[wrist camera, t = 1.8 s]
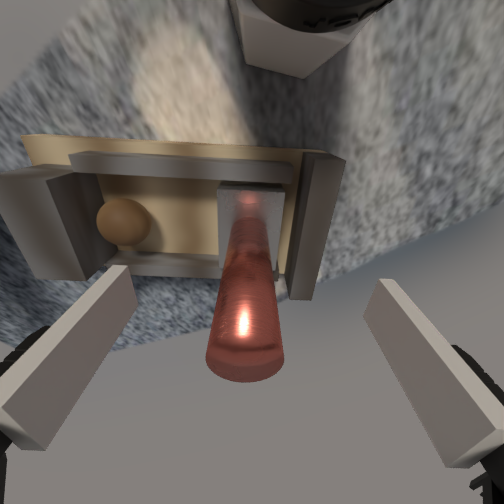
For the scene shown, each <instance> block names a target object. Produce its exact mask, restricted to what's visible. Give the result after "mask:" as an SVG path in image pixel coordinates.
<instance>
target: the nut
mask: <svg viewBox="0 0 504 504" xmlns="http://www.w3.org/2000/svg"><path fill="white" fill-rule="evenodd" d="M96 222H97V227H98V230H99V232H100V233H101V235H102V236H103V237H104V238H105V239H106V240H108V241H109V242H111V243H113V244H115V245H119V246H133V245H136V244H139V243H140V242H142V241H143V240H144V239H146V237H147V236H148V235H149V233H150V230H151V225H152V222H151V217H150V214H149V213H148V211H147V210H146V208H145V207H144V206H143V205H141V204H140V203H138V202H137V201H134V200H132V199H128V198H117V199H113V200H110V201H108V202H107V203H105V204H104V205H103V206H102V207H101V208H100V210H99V212H98V214H97V220H96Z"/></svg>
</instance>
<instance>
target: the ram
mask: <svg viewBox="0 0 504 504" xmlns="http://www.w3.org/2000/svg"><path fill="white" fill-rule="evenodd" d="M284 199H285V191H284V189H283V187H282V184H281V183H267V182H248V181H230V180H221V182H220V184H219V186H218V188H217V215H218V250H219V268H221V269H223V272H222V277H221V282H220V287H219V292H218V297H217V302H216V307H215V312H214V317H213V322H212V327H211V332H210V337H209V342H208V347H207V352H206V363H207V365H208V367H209V368H210V369H211V371H213V372H214V373H215V374H216V375H218V376H220V377H222V378H224V379H227V380H230V381H235V382H256V381H261V380H264V379H267V378H269V377H271V376H273V375H274V374H276V373H277V372H278V371H279V370H280V369H281V367H282V365H283V363H284V353H283V346H282V339H281V331H280V323H279V316H278V308H277V300H276V293H275V285H274V278H273V271H275V269H276V261H277V253H278V246H279V238H280V230H281V222H282V214H283V207H284Z"/></svg>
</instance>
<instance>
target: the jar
mask: <svg viewBox="0 0 504 504" xmlns="http://www.w3.org/2000/svg"><path fill="white" fill-rule="evenodd" d="M391 1H393V0H229V4H230V7H231V11H232V15H233V19H234V22H235V26H236V30H237V33H238V37H239V41H240V45H241V48H242V52H243V56H244V60H245V62H246V63H247V64H248V65H252V66H256V67H260V68H264V69H267V70H271V71H275V72H279V73H283V74H286V75H290V76H294V77H298V78H301V79H305V78H306V77H308V76H309V75H310V74H311V73H313V72H314V71H315V70H316V69H318V68H319V67H320V66H321V65H323V64H324V63H325V62H326V61H328V60H329V59H330V58H331V57H333V56H334V55H335V54H336V53H338V52H339V51H340V50H341V49H343V48H344V47H345V46H346V45H348V44H349V43H350V42H351V41H352V40H353V39H354V38H355V36H356V35H357V34H358V33H359V32H360V30H361V29H362V28H363V27H364V26H365V24H366V23H367V22H368V21H369V20H370V18H371V17H372V16H373V15H374V14H375V12H377V11H379V10H380V9H382V8H383V7H384V6H385V5H387V4H389V3H390V2H391Z"/></svg>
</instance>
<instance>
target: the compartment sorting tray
mask: <svg viewBox="0 0 504 504" xmlns="http://www.w3.org/2000/svg"><path fill="white" fill-rule="evenodd" d="M20 136H21V139H22V141H23V143H24V146H25V148H26V150H27V153H28V155H29V157H30V160H31V162H32V165H33V166H31V167H26V168H21V169H16V170H11V171H7V172H2V173H0V214H1V216H2V218H3V220H4V222H5V223H6V225H7V227H8V229H9V231H10V232H11V234H12V236H13V238H14V240H15V241H16V243H17V245H18V247H19V249H20V250H21V252H22V254H23V256H24V258H25V260H26V261H27V263H28V265H29V267H30V269H31V270H32V272H33V274H34V276H35V278H36V279H47V280H70V281H87V280H88V279H89V278H90V277H91V276H92V275H93V274H95V273H96V272H97V271H98V270H99V269H100V268H101V267H102V266H106V268H107V270H108V269H109V268H110V267H111V266H112V265H124V266H128V268H129V272H130V275H141V276H164V277H188V278H211V279H221V277H222V272H223V269H221V268H219V250H218V215H217V188H218V186H219V184H220V182H221V180H230V181H248V182H267V183H281V184H282V187H283V189H284V191H285V199H284V207H283V214H282V222H281V230H280V238H279V246H278V253H277V261H276V269H275V271H273V278H274V281H278V278H279V274H284V275H285V280H286V285H287V289H288V294H289V299H290V300H310V301H311V299H312V296H313V291H314V288H315V284H316V280H317V276H318V272H319V268H320V264H321V260H322V256H323V252H324V248H325V244H326V240H327V236H328V232H329V228H330V224H331V220H332V216H333V212H334V208H335V204H336V200H337V196H338V191H339V187H340V183H341V179H342V175H343V171H344V167H345V163H346V161H345V160H343V159H341V158H338V157H336V156H334V155H332V154H329V153H327V152H325V151H322V150H311V149H293V148H276V147H258V146H241V145H223V144H206V143H189V142H171V141H154V140H136V139H119V138H101V137H84V136H66V135H49V134H35V135H20ZM117 198H128V199H132V200H134V201H137V202H138V203H140V204H141V205H143V206H144V207H145V208H146V210H147V211H148V213H149V214H150V217H151V222H152V225H151V230H150V233H149V235H148V236H147V237H146V239H144V240H143V241H142V242H140V243H139V244H136V245H133V246H119V245H115V244H113V243H111V242H109V241H108V240H106V239H105V238H104V237H103V236H102V235H101V233H100V232H99V230H98V227H97V222H96V220H97V214H98V212H99V210H100V208H101V207H102V206H103V205H104V204H105V203H107V202H108V201H110V200H113V199H117Z"/></svg>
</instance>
